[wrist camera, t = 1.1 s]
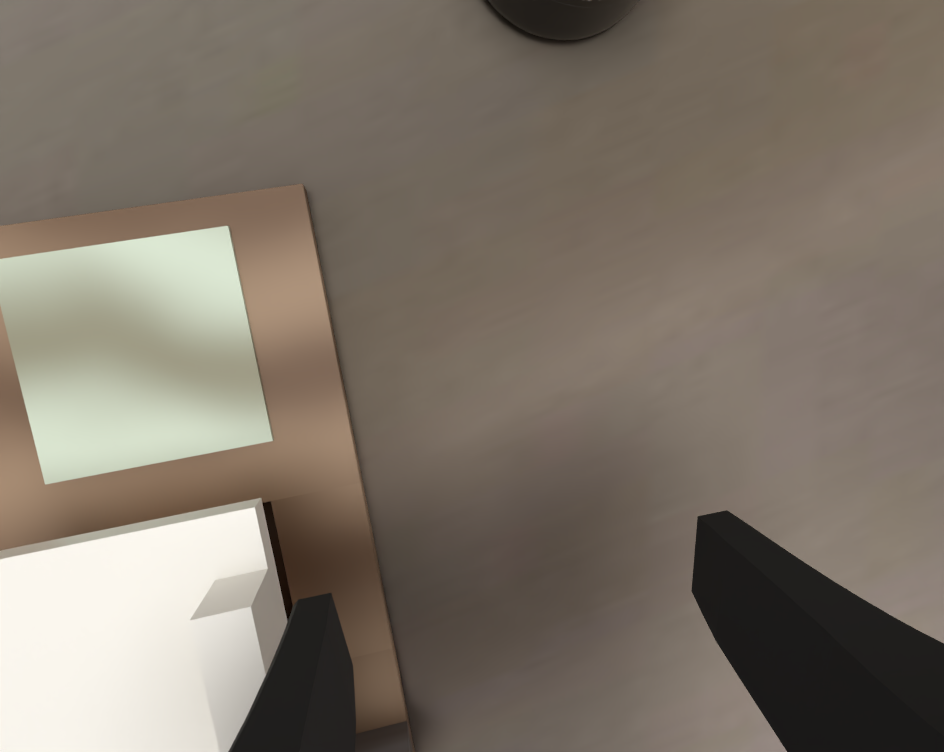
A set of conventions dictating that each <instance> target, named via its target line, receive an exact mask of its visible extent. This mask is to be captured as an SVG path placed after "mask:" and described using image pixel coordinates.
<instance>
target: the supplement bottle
mask: <svg viewBox="0 0 944 752" xmlns="http://www.w3.org/2000/svg"><path fill="white" fill-rule="evenodd" d="M488 1H489V2H490V4H491V5H492V6H493V7H494V8H495V9H496V10H497V11H498V12H499V13H500V14H501V15H502V16H503V17H505V18H506V19H507V20H508V21H510V22H511V23H513V24H514V25H515V26H517V27H519V28H521V29H523V30H524V31H527V32H529V33H531V34H534V35H537V36H540V37H543V38H548V39H554V40H576V39H582V38H587V37H590V36H593V35H596V34H598V33H600V32H603V31H605V30H607V29H608V28H610V27H612V26H613V25H615V24H616V23H617V22H619V21H620V20H621V19H622V18H623V17H624V16H625V15H627V14H628V13H629V12H630V11H631V10H632V9H633V7H634V6H635V5H636V4H637V3H638V2H639V0H488Z"/></svg>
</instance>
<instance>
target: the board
mask: <svg viewBox="0 0 944 752" xmlns="http://www.w3.org/2000/svg"><path fill="white" fill-rule="evenodd" d="M257 498H261V499H262V503H264V502H269V501H271V505H272V510H273V514H274V519H275V524H276V529H277V533H278V538H279V543H280V548H281V552H282V557H283V562H284V567H285V571H286V576H287V581H288V586H289V590H290V595H291V600H292V605H293V606H294V604H295V603H296V602H297V601H298V599H303V598H308V597H313V596H318V595H322V594H327V593H332V597H333V600H334V603H335V607H336V610H337V613H338V617H339V620H340V623H341V627H342V630H343V633H344V637H345V640H346V644H347V647H348V650H349V654H350V657H351V660H352V664H353V673H354V689H355V708H356V738H355V752H415V749H414V744H413V739H412V734H411V728H410V723H409V718H408V713H407V708H406V703H405V697H404V692H403V687H402V682H401V677H400V672H399V666H398V661H397V656H396V651H395V646H394V641H393V636H392V630H391V625H390V620H389V615H388V610H387V605H386V599H385V594H384V589H383V584H382V579H381V574H380V568H379V563H378V558H377V553H376V548H375V543H374V537H373V532H372V527H371V522H370V517H369V512H368V507H367V501H366V496H365V491H364V486H363V481H362V476H361V470H360V465H359V460H358V455H357V450H356V445H355V439H354V434H353V429H352V424H351V419H350V414H349V408H348V403H347V398H346V393H345V388H344V383H343V378H342V372H341V367H340V362H339V357H338V352H337V347H336V341H335V336H334V331H333V326H332V321H331V316H330V310H329V305H328V300H327V295H326V290H325V285H324V279H323V274H322V269H321V264H320V259H319V254H318V249H317V243H316V238H315V233H314V228H313V223H312V218H311V212H310V207H309V202H308V197H307V192H306V189H305V187H304V185H303V184H297V185H290V186H283V187H275V188H268V189H261V190H254V191H247V192H240V193H232V194H225V195H218V196H211V197H204V198H197V199H190V200H182V201H175V202H168V203H161V204H154V205H147V206H139V207H132V208H125V209H118V210H111V211H104V212H97V213H89V214H82V215H75V216H68V217H61V218H54V219H46V220H39V221H32V222H25V223H18V224H11V225H3V226H0V551H1V550H6V549H11V548H16V547H21V546H26V545H31V544H35V543H40V542H45V541H50V540H55V539H60V538H65V537H70V536H75V535H80V534H85V533H90V532H95V531H100V530H105V529H109V528H114V527H119V526H124V525H129V524H134V523H139V522H144V521H149V520H154V519H159V518H164V517H169V516H174V515H179V514H183V513H188V512H193V511H198V510H203V509H208V508H213V507H218V506H223V505H228V504H233V503H238V502H243V501H248V500H253V499H257Z"/></svg>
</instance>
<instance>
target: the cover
mask: <svg viewBox="0 0 944 752" xmlns="http://www.w3.org/2000/svg"><path fill="white" fill-rule="evenodd" d="M286 625H287V617H286V612H285V608H284V603H283V598H282V594H281V589H280V584H279V579H278V575H277V570H276V565H275V561H274V556H273V551H272V546H271V542H270V537H269V532H268V528H267V523H266V518H265V514H264V509H263V504H262V499H261V498H257V499H253V500H248V501H243V502H238V503H233V504H228V505H223V506H218V507H213V508H208V509H203V510H198V511H193V512H188V513H183V514H179V515H174V516H169V517H164V518H159V519H154V520H149V521H144V522H139V523H134V524H129V525H124V526H119V527H114V528H109V529H105V530H100V531H95V532H90V533H85V534H80V535H75V536H70V537H65V538H60V539H55V540H50V541H45V542H40V543H35V544H31V545H26V546H21V547H16V548H11V549H6V550H1V551H0V752H228V751H229V750H230V748H231V746H232V744H233V742H234V740H235V738H236V736H237V734H238V732H239V730H240V728H241V727H242V725H243V723H244V721H245V719H246V717H247V715H248V713H249V710H250V708H251V706H252V704H253V702H254V700H255V698H256V695H257V693H258V691H259V689H260V687H261V685H262V682H263V680H264V678H265V676H266V674H267V671H268V669H269V667H270V664H271V662H272V660H273V657H274V655H275V653H276V650H277V648H278V645H279V643H280V641H281V638H282V635H283V633H284V630H285V628H286Z"/></svg>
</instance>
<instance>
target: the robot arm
mask: <svg viewBox="0 0 944 752" xmlns="http://www.w3.org/2000/svg"><path fill="white" fill-rule="evenodd" d="M692 593H693V595H694V597H695V599H696V601H697V603H698V605H699V608H700V610H701V612H702V614H703V616H704V618H705V620H706V622H707V624H708V626H709V628H710V630H711V632H712V634H713V636H714V638H715V640H716V642H717V643H718V645H719V646H720V648H721V650H722V651H723V653H724V654H725V656H726V657H727V659H728V661H729V662H730V664H731V665H732V667H733V668H734V670H735V672H736V673H737V675H738V676H739V678H740V679H741V681H742V682H743V684H744V686H745V687H746V689H747V690H748V692H749V693H750V695H751V696H752V698H753V699H754V701H755V703H756V704H757V706H758V707H759V709H760V710H761V712H762V713H763V715H764V716H765V718H766V720H767V721H768V723H769V724H770V726H771V727H772V729H773V730H774V732H775V733H776V735H777V737H778V738H779V740H780V741H781V743H782V744H783V746H784V747H785V749H786V751H787V752H944V644H943V643H941V642H940V641H938V640H936V639H934V638H932V637H930V636H928V635H926V634H924V633H922V632H920V631H918V630H916V629H914V628H912V627H911V626H909V625H907V624H905V623H903V622H901V621H900V620H898V619H896V618H894V617H892V616H891V615H889V614H887V613H886V612H884V611H882V610H880V609H879V608H877V607H875V606H874V605H872V604H870V603H868V602H867V601H865V600H863V599H862V598H860V597H858V596H857V595H855V594H853V593H852V592H850V591H848V590H847V589H845V588H843V587H842V586H840V585H839V584H837V583H835V582H834V581H832V580H831V579H829V578H828V577H826V576H824V575H823V574H821V573H820V572H818V571H817V570H815V569H814V568H812V567H810V566H809V565H807V564H806V563H804V562H803V561H801V560H800V559H798V558H797V557H795V556H794V555H792V554H791V553H789V552H788V551H786V550H785V549H783V548H782V547H780V546H779V545H777V544H776V543H775V542H773V541H772V540H770V539H769V538H767V537H766V536H764V535H763V534H761V533H760V532H758V531H757V530H755V529H754V528H753V527H751V526H750V525H748V524H747V523H745V522H744V521H742V520H741V519H739V518H738V517H736V516H735V515H733V514H732V513H730V512H729V511H722V512H717V513H712V514H707V515H703V516H698V520H697V532H696V544H695V557H694V569H693V581H692ZM355 738H356V708H355V689H354V673H353V664H352V660H351V657H350V654H349V650H348V647H347V644H346V640H345V637H344V633H343V630H342V627H341V623H340V620H339V617H338V613H337V610H336V607H335V603H334V600H333V597H332V593H327V594H322V595H318V596H313V597H308V598H303V599H298V601H297V602H296V603H295V604H294V606H293V608H292V611H291V614H290V617H289V620H288V622H287V625H286V628H285V630H284V633H283V635H282V638H281V641H280V643H279V645H278V648H277V650H276V653H275V655H274V657H273V660H272V662H271V664H270V667H269V669H268V671H267V674H266V676H265V678H264V680H263V682H262V685H261V687H260V689H259V691H258V693H257V695H256V698H255V700H254V702H253V704H252V706H251V708H250V710H249V713H248V715H247V717H246V719H245V721H244V723H243V725H242V727H241V728H240V730H239V732H238V734H237V736H236V738H235V740H234V742H233V744H232V746H231V748H230V750H229V751H228V752H355Z"/></svg>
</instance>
